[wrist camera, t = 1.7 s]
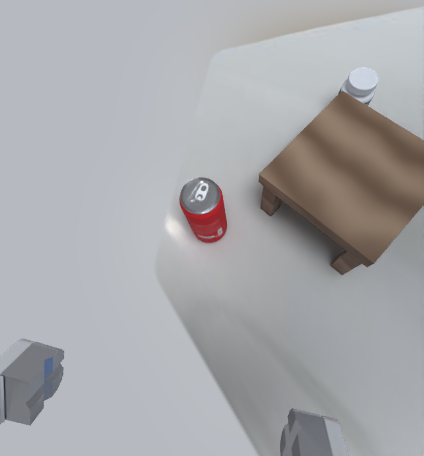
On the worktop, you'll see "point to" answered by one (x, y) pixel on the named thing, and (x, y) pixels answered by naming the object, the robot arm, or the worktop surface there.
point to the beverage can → (204, 208)
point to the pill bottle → (361, 84)
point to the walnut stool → (350, 179)
